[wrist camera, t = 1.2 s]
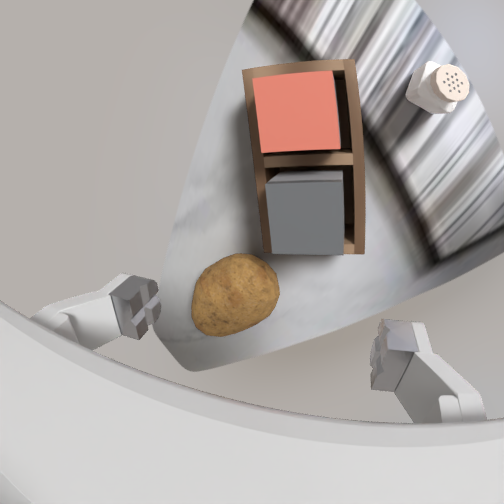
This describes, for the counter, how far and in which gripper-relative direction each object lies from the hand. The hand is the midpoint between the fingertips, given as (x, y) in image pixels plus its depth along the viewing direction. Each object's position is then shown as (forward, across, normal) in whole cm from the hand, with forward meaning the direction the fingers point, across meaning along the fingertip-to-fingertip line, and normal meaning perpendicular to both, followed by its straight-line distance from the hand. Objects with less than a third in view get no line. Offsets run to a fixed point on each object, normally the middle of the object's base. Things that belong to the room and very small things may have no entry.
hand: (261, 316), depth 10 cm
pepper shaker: (+25, -12, -12) cm, 30 cm away
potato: (+26, +8, +15) cm, 31 cm away
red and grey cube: (+20, +1, -7) cm, 22 cm away
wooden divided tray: (+25, 0, -3) cm, 26 cm away
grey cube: (+20, 0, +1) cm, 20 cm away
